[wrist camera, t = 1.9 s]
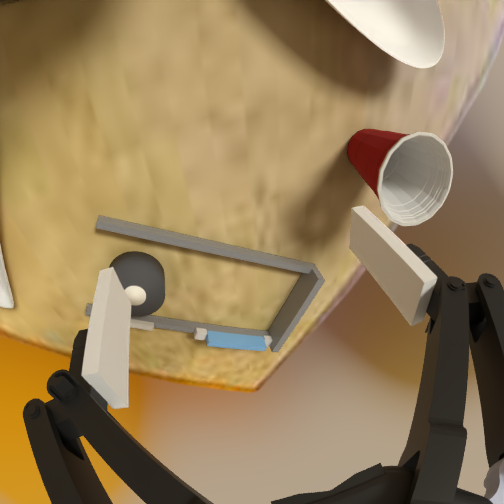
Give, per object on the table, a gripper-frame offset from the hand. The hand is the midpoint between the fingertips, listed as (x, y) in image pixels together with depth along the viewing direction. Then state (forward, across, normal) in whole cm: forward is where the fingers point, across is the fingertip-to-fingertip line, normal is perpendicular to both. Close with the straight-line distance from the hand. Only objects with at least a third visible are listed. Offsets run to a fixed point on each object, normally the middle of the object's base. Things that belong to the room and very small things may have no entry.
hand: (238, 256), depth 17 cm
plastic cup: (+22, +21, -4) cm, 31 cm away
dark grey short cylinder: (+22, -13, -15) cm, 30 cm away
